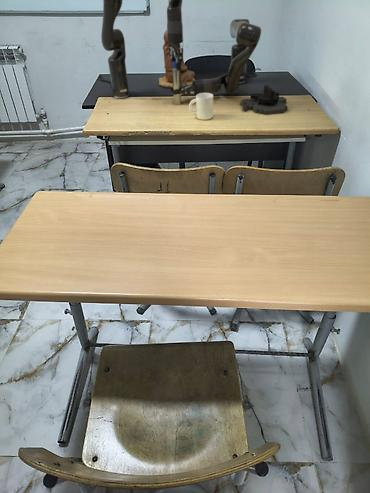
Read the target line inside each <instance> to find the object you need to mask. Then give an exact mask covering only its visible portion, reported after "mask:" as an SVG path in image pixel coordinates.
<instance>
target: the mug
mask: <svg viewBox="0 0 370 493" xmlns="http://www.w3.org/2000/svg"><path fill="white" fill-rule="evenodd" d="M194 103H195V111H194V110H193V109H192V107H193V104H194ZM188 112H189V113H190V114H192V115H196V116H195V117H196V118H197V119H198V120H203V121H205V120H211V119H212V118H213V116H214V94H213V93H199V94H197V95H196V96H195V98H193V99H191V101H190V102H189V104H188Z"/></svg>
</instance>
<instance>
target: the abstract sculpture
mask: <svg viewBox="0 0 370 493" xmlns="http://www.w3.org/2000/svg"><path fill="white" fill-rule="evenodd" d="M249 97H250V98H249ZM249 97H248V98H242V100H240V104H241V106H242V111H244V112H248V110H252V111H254V112H255V113H259V114H263V115H272V114H282V113H284V112H286V111H288V107H289V106H288V105H287V104H286V103H287V99H286V98H285V97H284V96H280V92H278V91H275V90H273V89H272V88H271V87H270V86H269V85H267V84H266V85H264V87H263V93H259V92H253V93H251V94H250V96H249Z"/></svg>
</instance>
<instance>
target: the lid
mask: <svg viewBox="0 0 370 493" xmlns="http://www.w3.org/2000/svg"><path fill="white" fill-rule="evenodd" d="M171 67H172V68H177V63H176V61H173V62H171Z"/></svg>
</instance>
